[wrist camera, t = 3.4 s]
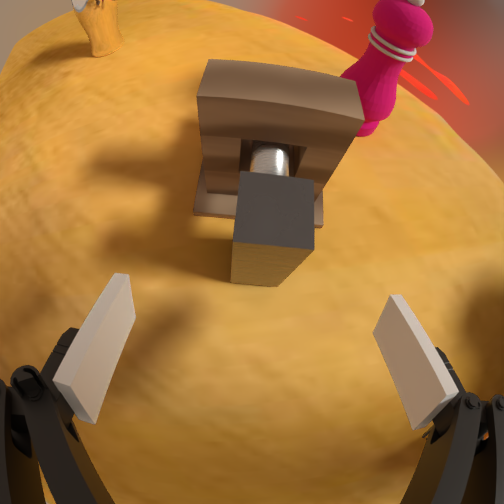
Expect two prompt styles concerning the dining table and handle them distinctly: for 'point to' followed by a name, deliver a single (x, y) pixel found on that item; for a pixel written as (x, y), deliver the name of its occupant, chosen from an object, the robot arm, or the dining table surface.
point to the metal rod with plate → (271, 218)
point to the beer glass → (100, 25)
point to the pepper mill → (387, 56)
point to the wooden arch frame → (271, 126)
